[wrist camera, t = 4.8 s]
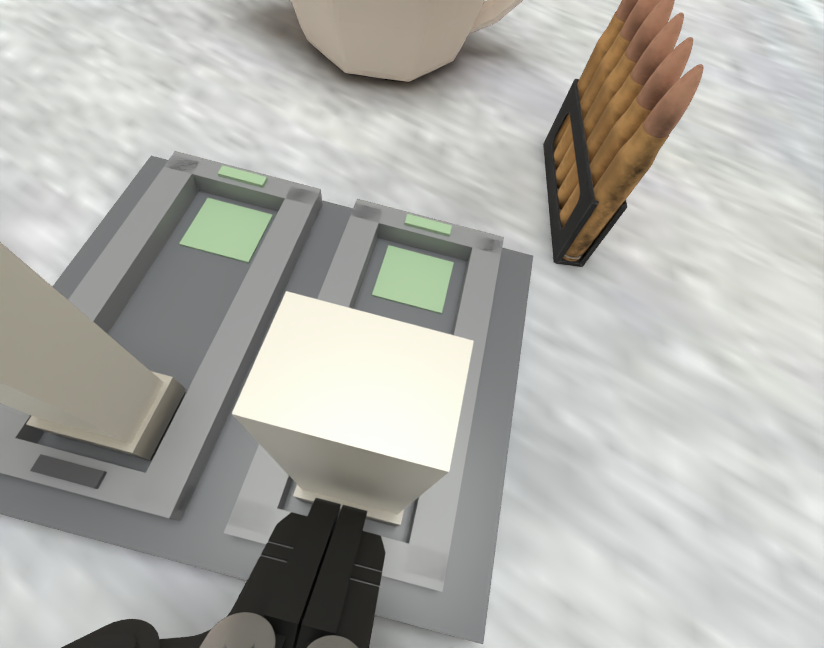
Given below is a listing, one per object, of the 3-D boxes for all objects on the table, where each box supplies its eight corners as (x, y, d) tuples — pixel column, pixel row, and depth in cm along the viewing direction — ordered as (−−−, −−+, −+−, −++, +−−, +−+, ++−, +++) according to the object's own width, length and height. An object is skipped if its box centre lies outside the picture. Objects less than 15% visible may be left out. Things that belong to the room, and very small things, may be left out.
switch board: (520, 275, 26) (542, 239, 23) (470, 634, 18) (493, 652, 15) (165, 182, 26) (140, 134, 23) (-54, 493, 18) (-137, 481, 15)
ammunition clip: (543, 142, 32) (637, -62, 21) (568, 146, 32) (673, -55, 21) (553, 263, 27) (683, 76, 16) (583, 267, 27) (731, 84, 16)
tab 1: (186, 389, 18) (-23, 195, 8) (149, 460, 17) (-154, 330, 7) (95, 364, 19) (-224, 142, 8) (51, 433, 17) (-396, 266, 7)
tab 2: (414, 450, 18) (486, 329, 8) (397, 526, 17) (458, 495, 7) (323, 426, 18) (281, 275, 8) (297, 499, 17) (211, 428, 7)
